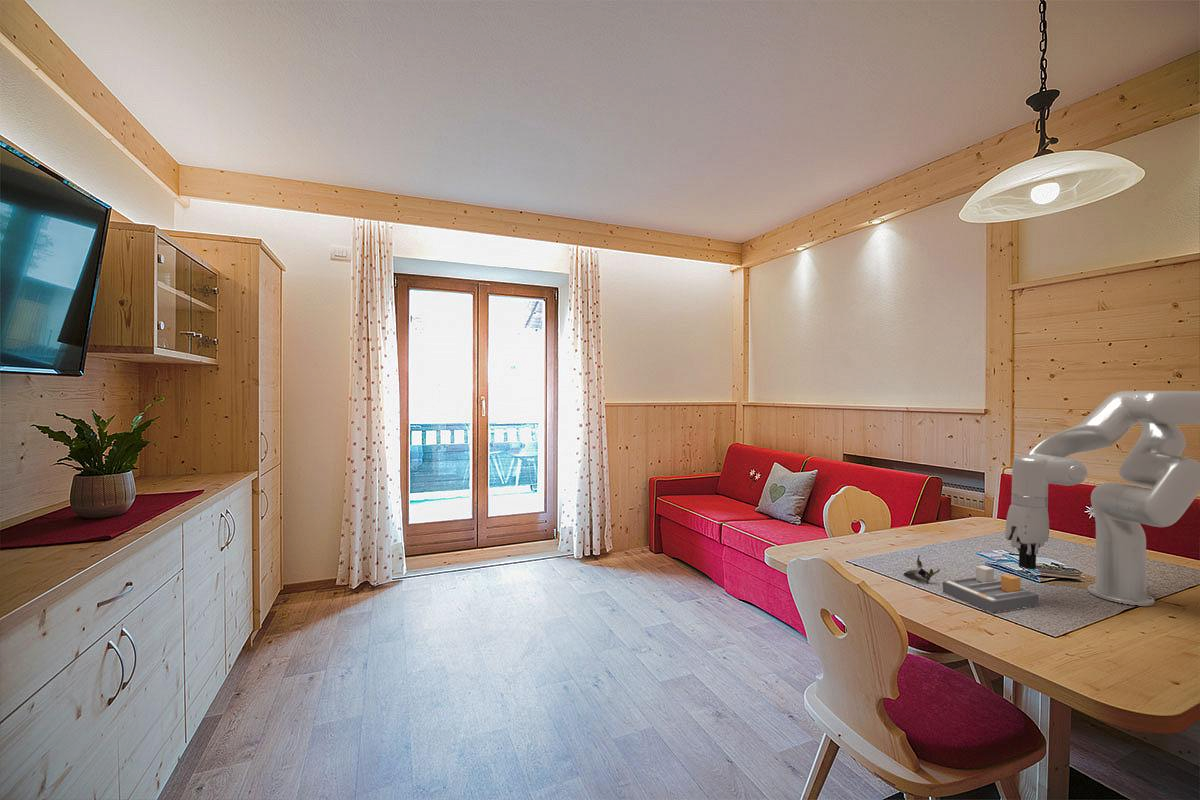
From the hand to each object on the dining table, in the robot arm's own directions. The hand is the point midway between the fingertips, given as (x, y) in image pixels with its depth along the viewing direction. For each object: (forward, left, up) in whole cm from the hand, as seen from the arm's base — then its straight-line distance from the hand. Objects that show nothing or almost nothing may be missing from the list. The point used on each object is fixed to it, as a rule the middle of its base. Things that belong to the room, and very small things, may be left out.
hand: (1027, 567), depth 134 cm
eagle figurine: (+15, -20, -9) cm, 27 cm away
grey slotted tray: (+9, -3, -9) cm, 13 cm away
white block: (+6, -7, -6) cm, 11 cm away
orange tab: (+6, 0, -6) cm, 8 cm away
